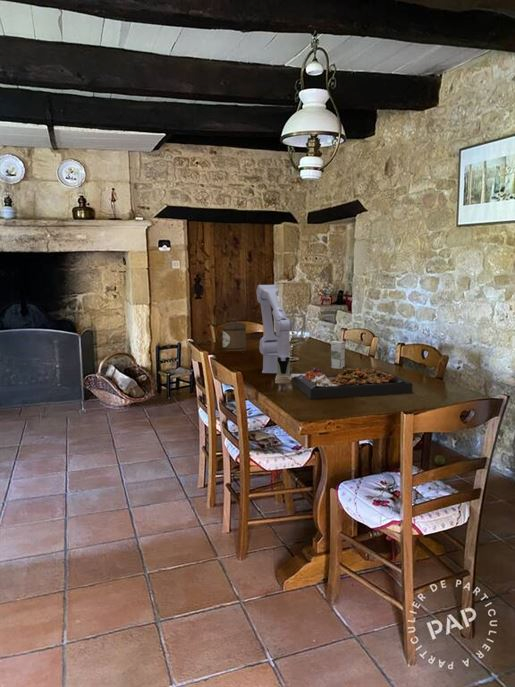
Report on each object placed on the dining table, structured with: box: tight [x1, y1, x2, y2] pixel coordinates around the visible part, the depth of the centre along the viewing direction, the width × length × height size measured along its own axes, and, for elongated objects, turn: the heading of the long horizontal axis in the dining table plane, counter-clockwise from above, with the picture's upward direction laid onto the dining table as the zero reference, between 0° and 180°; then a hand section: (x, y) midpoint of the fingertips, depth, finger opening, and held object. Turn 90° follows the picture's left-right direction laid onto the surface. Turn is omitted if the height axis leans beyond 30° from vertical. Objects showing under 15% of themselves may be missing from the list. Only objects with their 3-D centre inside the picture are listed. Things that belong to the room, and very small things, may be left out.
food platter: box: [293, 364, 414, 400], centre depth 219 cm, size 45×25×10 cm, turn 102°
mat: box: [290, 373, 305, 379], centre depth 245 cm, size 8×8×1 cm
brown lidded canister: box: [221, 317, 247, 351], centre depth 311 cm, size 15×15×22 cm
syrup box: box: [330, 339, 346, 370], centre depth 263 cm, size 6×6×14 cm
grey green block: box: [276, 360, 291, 377], centre depth 238 cm, size 2×6×8 cm, turn 86°
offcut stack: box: [274, 376, 291, 384], centre depth 231 cm, size 2×7×3 cm, turn 86°
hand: (283, 373), depth 239 cm, fingers closed on grey green block, 2 cm apart
